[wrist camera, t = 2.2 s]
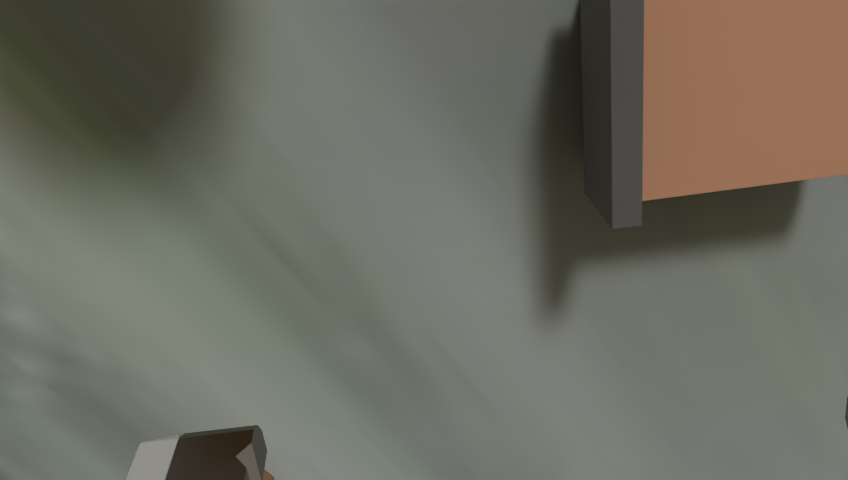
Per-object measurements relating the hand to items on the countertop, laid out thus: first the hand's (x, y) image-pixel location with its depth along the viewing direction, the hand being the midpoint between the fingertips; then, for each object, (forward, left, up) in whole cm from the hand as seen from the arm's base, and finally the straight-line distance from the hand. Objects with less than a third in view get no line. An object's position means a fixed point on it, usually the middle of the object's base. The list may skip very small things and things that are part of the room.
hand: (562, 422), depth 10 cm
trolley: (-10, 0, -20) cm, 22 cm away
